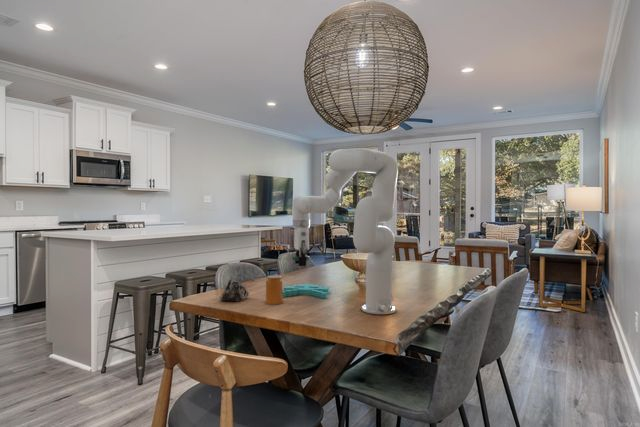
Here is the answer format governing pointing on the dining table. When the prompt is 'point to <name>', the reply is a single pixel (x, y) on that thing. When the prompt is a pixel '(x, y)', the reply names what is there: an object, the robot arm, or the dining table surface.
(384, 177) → the robot arm
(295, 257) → the lid
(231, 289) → the rock
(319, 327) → the dining table surface
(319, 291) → the alien figure
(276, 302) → the jar
